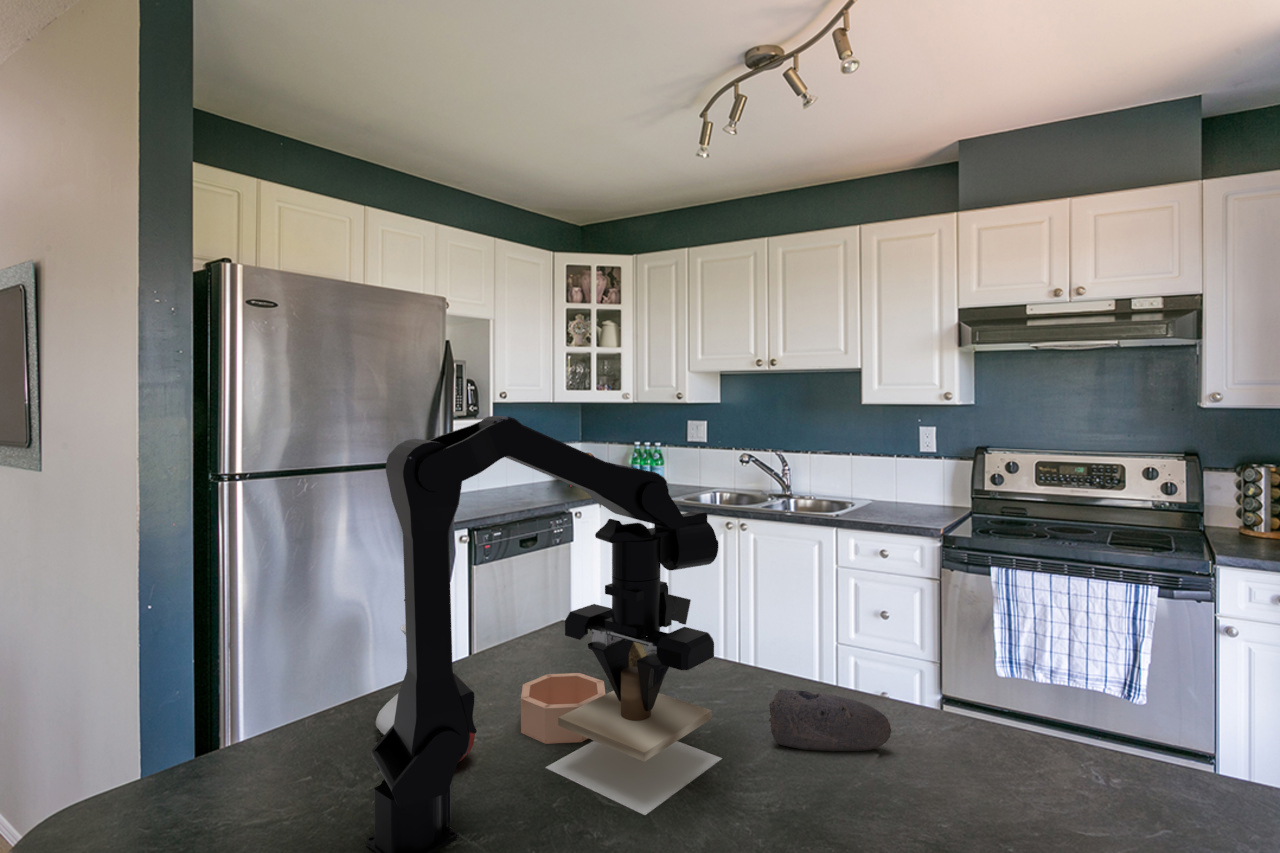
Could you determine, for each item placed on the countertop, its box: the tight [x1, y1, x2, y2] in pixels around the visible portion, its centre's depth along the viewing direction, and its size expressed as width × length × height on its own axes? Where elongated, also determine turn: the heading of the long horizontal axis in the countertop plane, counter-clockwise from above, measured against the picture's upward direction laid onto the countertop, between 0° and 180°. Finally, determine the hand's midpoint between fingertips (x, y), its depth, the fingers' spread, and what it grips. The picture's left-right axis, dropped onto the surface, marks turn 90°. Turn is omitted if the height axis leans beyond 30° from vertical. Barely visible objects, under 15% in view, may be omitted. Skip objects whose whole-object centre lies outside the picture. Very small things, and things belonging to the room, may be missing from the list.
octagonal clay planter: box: [520, 672, 606, 745], centre depth 94 cm, size 11×11×5 cm
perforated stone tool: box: [768, 689, 892, 752], centre depth 89 cm, size 15×5×7 cm, turn 80°
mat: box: [544, 740, 723, 816], centre depth 84 cm, size 15×15×1 cm
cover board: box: [558, 667, 713, 762], centre depth 84 cm, size 13×13×6 cm
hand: (635, 705), depth 84 cm, fingers closed on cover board, 4 cm apart
